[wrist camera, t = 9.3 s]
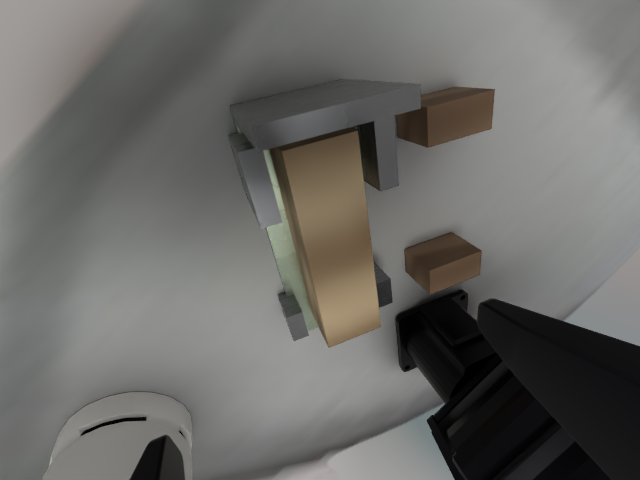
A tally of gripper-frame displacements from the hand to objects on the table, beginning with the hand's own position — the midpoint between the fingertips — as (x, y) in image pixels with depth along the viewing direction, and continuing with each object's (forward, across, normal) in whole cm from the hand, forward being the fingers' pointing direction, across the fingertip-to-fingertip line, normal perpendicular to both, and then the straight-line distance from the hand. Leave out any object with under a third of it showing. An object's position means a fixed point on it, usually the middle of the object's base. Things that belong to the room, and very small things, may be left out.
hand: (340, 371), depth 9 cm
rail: (+12, -3, +2) cm, 12 cm away
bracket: (+12, -3, +2) cm, 13 cm away
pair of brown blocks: (+12, -11, +2) cm, 16 cm away
